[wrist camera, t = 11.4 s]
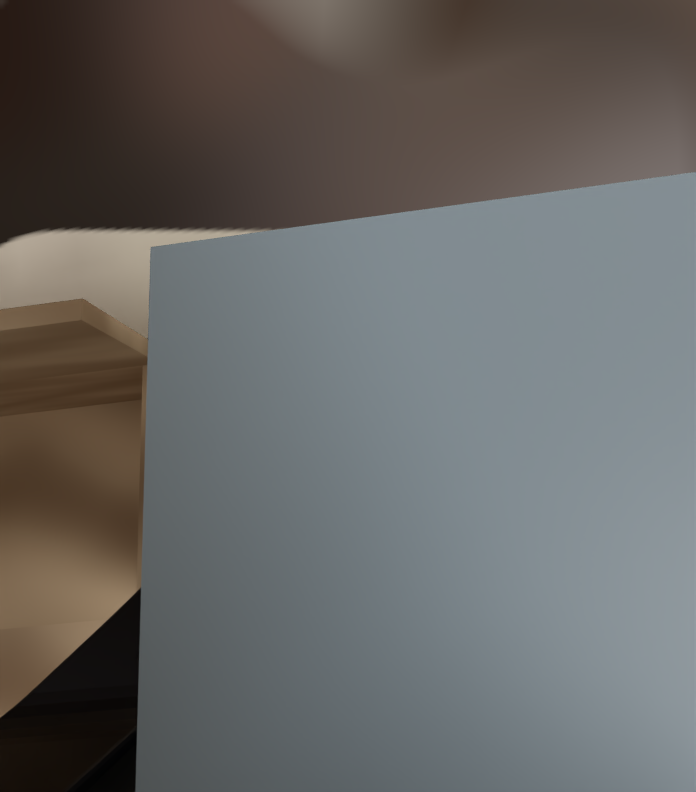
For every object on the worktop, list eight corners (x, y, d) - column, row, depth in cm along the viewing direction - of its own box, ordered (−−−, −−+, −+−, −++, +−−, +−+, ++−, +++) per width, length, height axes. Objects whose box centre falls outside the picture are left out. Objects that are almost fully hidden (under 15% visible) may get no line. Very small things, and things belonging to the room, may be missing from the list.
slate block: (489, 565, 13) (1260, 1114, 2) (338, 580, 14) (124, 1144, 2) (462, 416, 15) (796, 158, 3) (325, 432, 15) (150, 247, 3)
